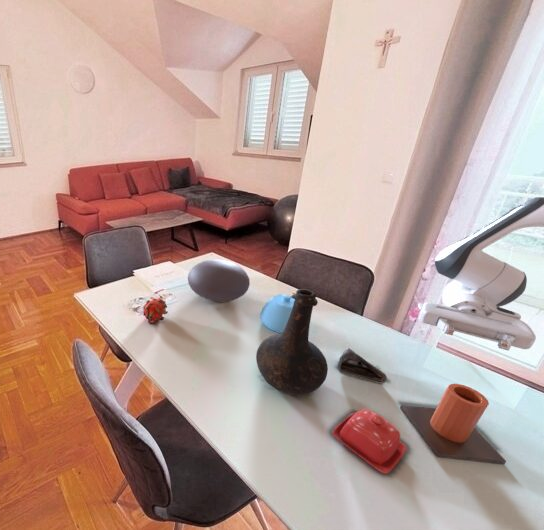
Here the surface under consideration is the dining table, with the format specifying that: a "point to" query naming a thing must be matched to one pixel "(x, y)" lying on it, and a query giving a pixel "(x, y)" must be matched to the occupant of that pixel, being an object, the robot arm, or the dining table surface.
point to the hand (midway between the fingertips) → (476, 339)
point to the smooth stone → (218, 280)
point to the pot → (458, 412)
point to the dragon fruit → (154, 309)
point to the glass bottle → (293, 352)
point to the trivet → (442, 447)
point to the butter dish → (371, 439)
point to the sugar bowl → (277, 312)
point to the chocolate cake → (359, 367)
